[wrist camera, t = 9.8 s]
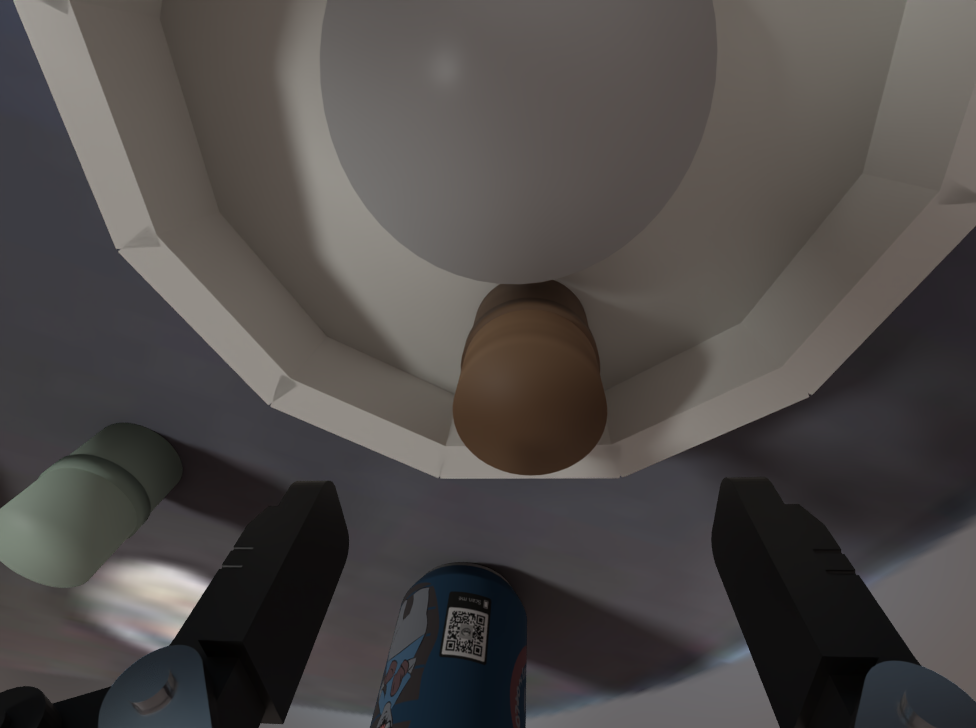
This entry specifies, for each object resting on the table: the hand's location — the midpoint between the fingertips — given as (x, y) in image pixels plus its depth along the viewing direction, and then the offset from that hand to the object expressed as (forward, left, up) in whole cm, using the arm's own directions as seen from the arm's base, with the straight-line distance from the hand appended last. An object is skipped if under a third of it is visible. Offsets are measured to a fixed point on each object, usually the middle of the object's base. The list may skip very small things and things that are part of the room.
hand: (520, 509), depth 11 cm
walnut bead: (0, 0, -10) cm, 10 cm away
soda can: (+17, -4, -11) cm, 21 cm away
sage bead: (+7, -20, -11) cm, 24 cm away
